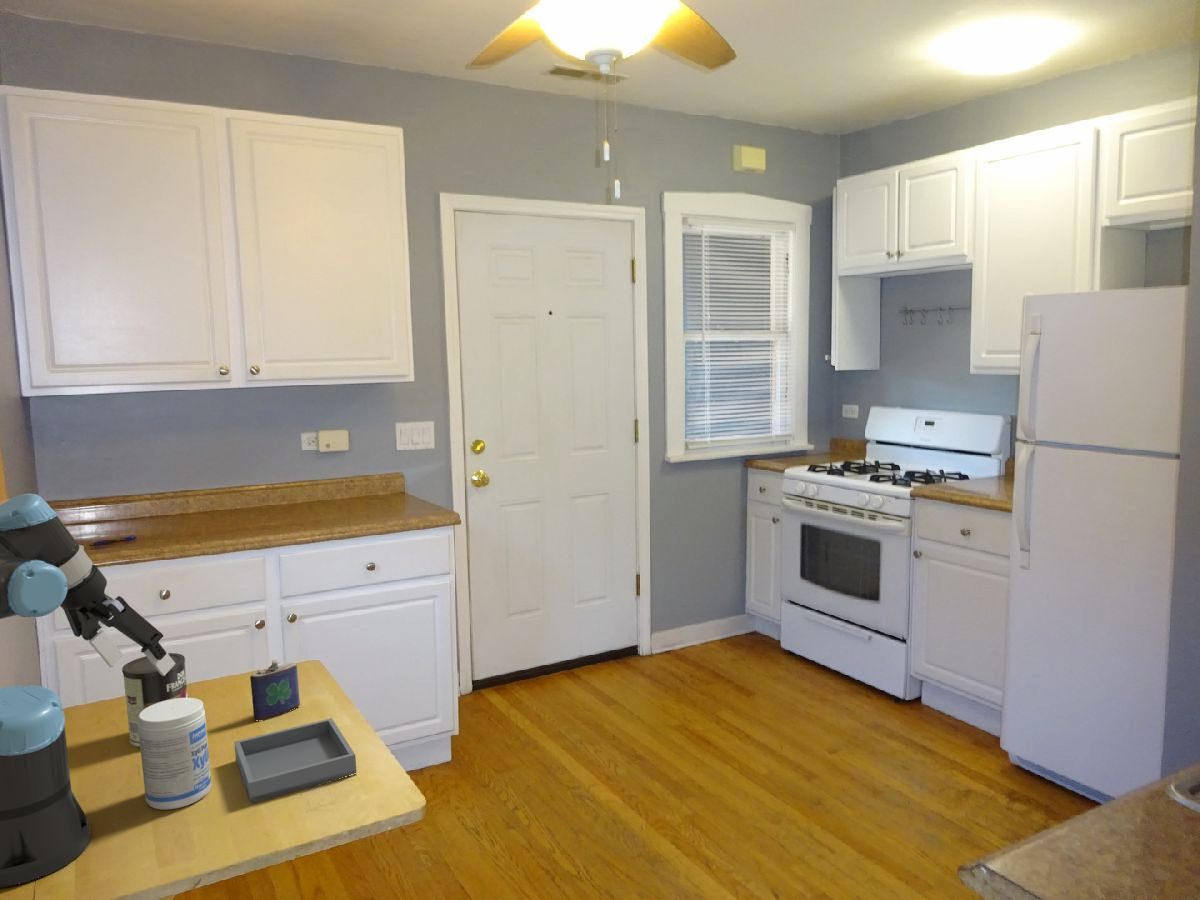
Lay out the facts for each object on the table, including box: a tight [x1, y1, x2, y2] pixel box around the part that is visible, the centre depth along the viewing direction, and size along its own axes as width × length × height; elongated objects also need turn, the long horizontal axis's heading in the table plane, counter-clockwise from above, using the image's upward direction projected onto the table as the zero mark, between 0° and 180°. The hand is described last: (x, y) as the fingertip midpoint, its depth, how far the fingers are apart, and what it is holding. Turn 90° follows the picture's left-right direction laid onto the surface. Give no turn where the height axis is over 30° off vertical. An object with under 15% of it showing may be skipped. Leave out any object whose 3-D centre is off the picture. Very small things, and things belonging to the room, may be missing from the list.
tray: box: [234, 717, 357, 805], centre depth 142 cm, size 17×17×4 cm
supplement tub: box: [138, 697, 212, 811], centre depth 133 cm, size 10×10×15 cm
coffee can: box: [121, 652, 189, 748], centre depth 155 cm, size 10×10×14 cm
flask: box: [249, 659, 301, 722], centre depth 163 cm, size 9×3×11 cm, turn 136°
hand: (142, 665), depth 147 cm, fingers open, 13 cm apart
